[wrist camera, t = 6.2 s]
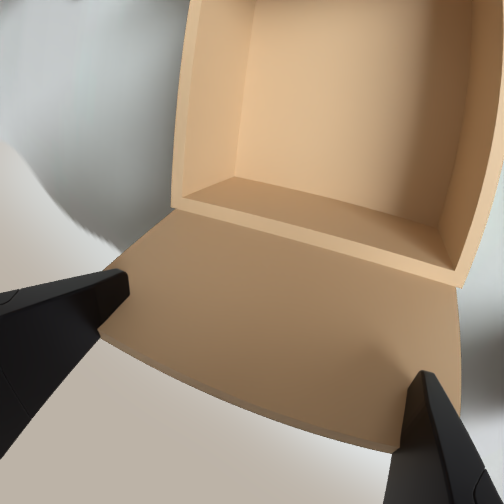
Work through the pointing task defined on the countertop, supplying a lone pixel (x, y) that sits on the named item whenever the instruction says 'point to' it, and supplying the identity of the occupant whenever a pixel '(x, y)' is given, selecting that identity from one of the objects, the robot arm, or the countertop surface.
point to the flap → (286, 327)
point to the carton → (346, 124)
